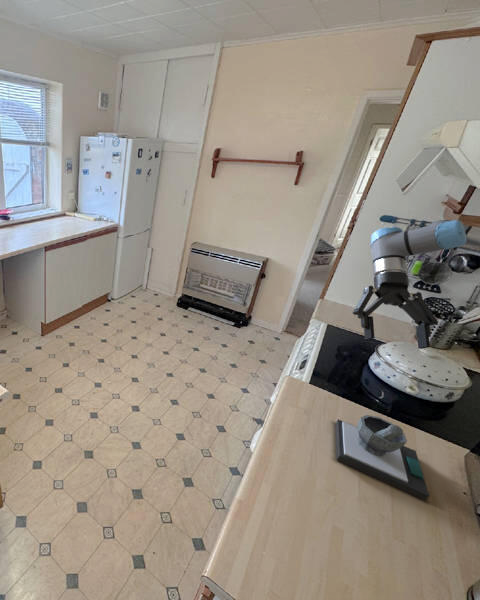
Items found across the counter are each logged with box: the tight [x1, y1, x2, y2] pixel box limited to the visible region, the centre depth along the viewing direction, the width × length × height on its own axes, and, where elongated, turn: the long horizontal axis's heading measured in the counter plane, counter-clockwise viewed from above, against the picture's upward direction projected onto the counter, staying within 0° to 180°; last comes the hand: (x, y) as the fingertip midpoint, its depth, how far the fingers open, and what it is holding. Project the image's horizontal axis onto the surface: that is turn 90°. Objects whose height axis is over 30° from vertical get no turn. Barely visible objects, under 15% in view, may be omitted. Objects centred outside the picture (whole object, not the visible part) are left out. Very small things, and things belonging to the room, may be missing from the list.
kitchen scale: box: [334, 419, 430, 502], centre depth 88 cm, size 18×16×3 cm
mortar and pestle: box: [356, 414, 408, 456], centre depth 86 cm, size 11×9×12 cm
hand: (396, 343), depth 91 cm, fingers open, 13 cm apart
